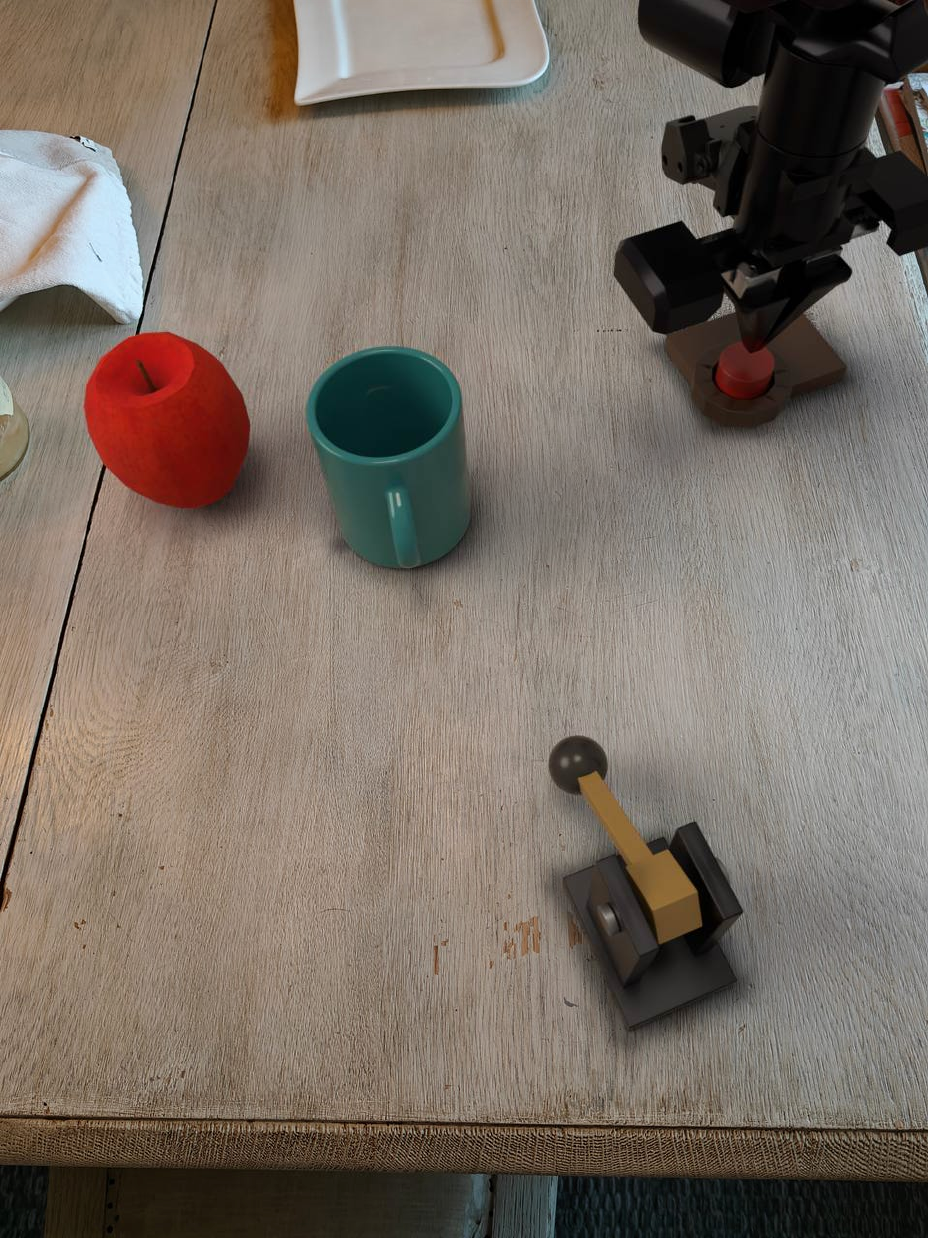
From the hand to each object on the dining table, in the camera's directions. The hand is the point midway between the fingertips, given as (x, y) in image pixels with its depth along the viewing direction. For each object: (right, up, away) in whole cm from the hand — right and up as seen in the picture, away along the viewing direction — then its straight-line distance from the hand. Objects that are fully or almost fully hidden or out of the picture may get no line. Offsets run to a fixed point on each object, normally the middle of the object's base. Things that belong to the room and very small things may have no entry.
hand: (751, 347), depth 63 cm
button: (0, -1, +3) cm, 3 cm away
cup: (-23, -12, +1) cm, 26 cm away
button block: (+2, 0, +6) cm, 6 cm away
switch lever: (-11, -29, -14) cm, 34 cm away
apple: (-37, -8, +5) cm, 39 cm away
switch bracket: (-9, -34, -12) cm, 38 cm away
